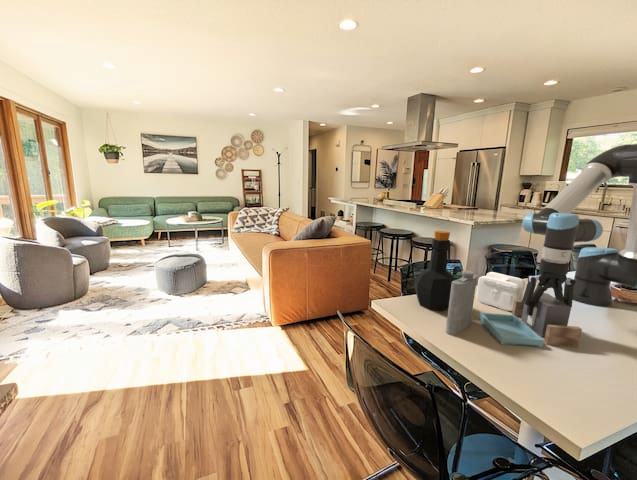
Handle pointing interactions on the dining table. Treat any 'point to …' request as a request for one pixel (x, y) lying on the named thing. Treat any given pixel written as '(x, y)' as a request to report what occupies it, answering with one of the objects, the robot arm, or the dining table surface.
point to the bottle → (436, 276)
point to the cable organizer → (500, 290)
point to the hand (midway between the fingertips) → (542, 324)
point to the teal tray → (510, 330)
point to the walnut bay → (554, 330)
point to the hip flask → (461, 303)
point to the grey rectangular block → (547, 314)
